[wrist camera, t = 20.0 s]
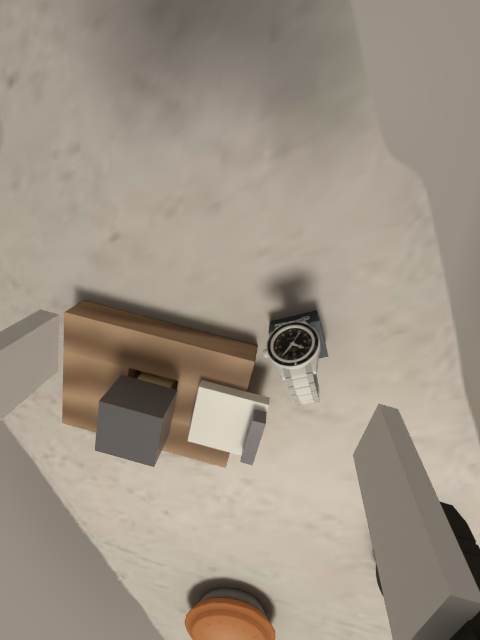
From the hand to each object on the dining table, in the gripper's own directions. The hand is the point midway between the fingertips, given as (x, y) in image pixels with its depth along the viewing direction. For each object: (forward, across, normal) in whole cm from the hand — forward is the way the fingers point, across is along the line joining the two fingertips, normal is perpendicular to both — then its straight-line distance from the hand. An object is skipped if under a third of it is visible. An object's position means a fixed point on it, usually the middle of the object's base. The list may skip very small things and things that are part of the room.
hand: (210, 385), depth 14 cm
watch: (+26, +6, -8) cm, 28 cm away
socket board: (+25, -8, -19) cm, 33 cm away
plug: (+25, -8, -19) cm, 33 cm away
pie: (+24, +11, -63) cm, 69 cm away
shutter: (+21, +1, -19) cm, 28 cm away
